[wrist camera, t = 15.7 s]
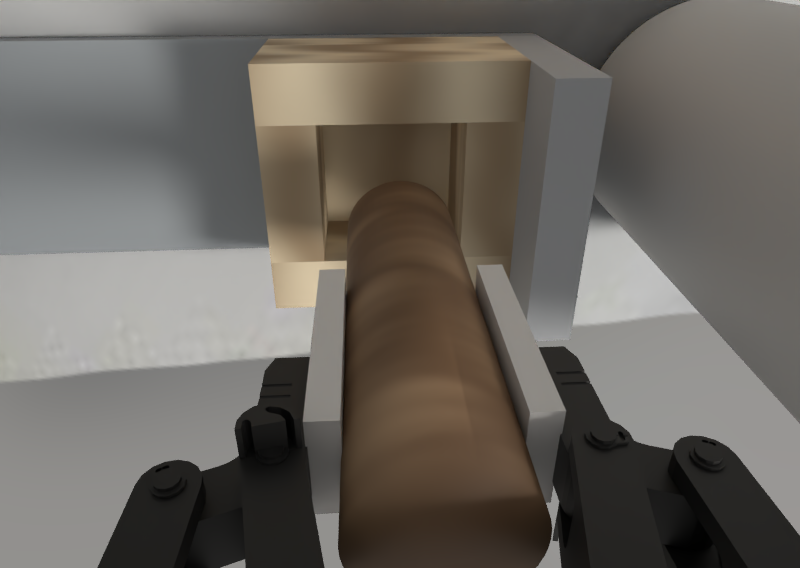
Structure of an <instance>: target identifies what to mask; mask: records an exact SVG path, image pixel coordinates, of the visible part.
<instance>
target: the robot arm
mask: <svg viewBox="0 0 800 568" xmlns="http://www.w3.org/2000/svg"><path fill="white" fill-rule="evenodd" d="M475 291H476V294H477V297H478V300H479V303H480V306H481V309H482V312H483V315H484V318H485V321H486V324H487V327H488V330H489V333H490V337H491V340H492V343H493V346H494V349H495V352H496V355H497V358H498V361H499V364H500V367H501V370H502V373H503V376H504V379H505V382H506V385H507V388H508V391H509V394H510V397H511V400H512V403H513V406H514V409H515V412H516V415H517V418H518V421H519V424H520V427H521V430H522V433H523V436H524V439H525V442H526V445H527V448H528V451H529V454H530V457H531V460H532V463H533V466H534V469H535V472H536V475H537V478H538V481H539V484H540V487H541V490H542V493H543V496H544V499H545V502H546V503H547V502H551V497H552V491H553V485H554V488H555V491H556V493H557V496H558V499H559V507H558V512H557V518H556V523H555V529H554V535H553V541H558V536H559V546H560V556H561V567H562V568H800V535H799V534H798V533H797V532H796V530H795V529H794V528H793V526H792V525H791V524H790V523H789V522H788V520H787V519H786V518H785V516H784V515H783V514H782V512H781V511H780V510H779V509H778V508H777V506H776V505H775V504H774V502H773V501H772V500H771V499H770V497H769V496H768V495H767V493H766V492H765V491H764V489H763V488H762V487H761V486H760V484H759V483H758V482H757V481H756V479H755V478H754V477H753V475H752V474H751V473H750V472H749V470H748V469H747V468H746V466H745V465H744V464H743V463H742V461H741V460H740V459H739V458H738V456H737V455H736V454H735V453H734V452H733V451H732V450H730V448H728V447H727V446H725V445H723V444H722V443H720V442H718V441H716V440H713V439H710V438H707V437H703V436H687V437H684V438H681V439H680V440H678V441H677V442H676V443H675V445H674V448H673V450H669V449H664V448H659V447H654V446H648V445H645V444H641V443H638V442H636V441H634V440H633V439H632V437H631V435H630V433H629V432H628V431H627V430H625V429H624V428H623V427H622V426H621V425H619V424H617V423H614V422H613V421H611V420H610V419H609V417H608V415H607V413H606V412H605V410H604V408H603V406H602V404H601V402H600V400H599V398H598V396H597V394H596V392H595V390H594V388H593V387H592V385H591V384H590V381H589V379H588V377H587V375H586V374H585V373H584V369H583V367H582V365H581V363H580V362H579V360H578V358H577V357H576V356H575V355H574V354H572V353H571V352H570V351H569V350H568V349H566V348H565V347H538V345H537V343H536V341H535V339H534V336H533V334H532V332H531V329H530V327H529V325H528V323H527V320H526V318H525V316H524V313H523V311H522V309H521V307H520V304H519V302H518V300H517V297H516V295H515V293H514V291H513V288H512V286H511V284H510V282H509V279H508V277H507V275H506V272H505V270H504V268H503V266H502V264H500V265H477V272H476V287H475ZM345 331H346V276H345V269H328V270H319V278H318V287H317V296H316V306H315V315H314V324H313V333H312V342H311V351H310V357H297V358H275V360H274V361H273V362H272V363H271V364H270V366H269V367H268V368H267V369H266V370H265V374H264V378H263V383H262V388H261V392H260V399H259V402H258V405H257V406H254V407H252V408H250V409H249V410H247V411H246V412H244V413H243V414H242V415H241V416H240V417H239V419H238V420H237V422H236V425H235V435H236V441H237V447H238V452H239V456H238V457H237V458H235V459H234V460H232V461H230V462H229V463H226V464H224V465H221V466H219V467H215V468H212V469H208V470H205V471H200V470H199V468H198V467H197V466H196V465H194V464H193V463H191V462H188V461H182V460H174V461H168V462H164V463H161V464H159V465H157V466H154V467H152V468H151V469H149V470H148V471H147V472H146V473H144V474H143V475H142V476H141V477H140V479H139V480H138V482H137V483H136V484H135V486H134V489H133V491H132V493H131V495H130V497H129V499H128V502H127V504H126V506H125V508H124V510H123V513H122V515H121V517H120V519H119V521H118V524H117V526H116V528H115V530H114V532H113V535H112V537H111V539H110V541H109V544H108V546H107V548H106V550H105V552H104V554H103V557H102V559H101V561H100V564H99V565H98V568H220V567H223V566H226V565H229V564H232V563H235V562H237V561H240V560H243V559H245V562H246V568H324V563H323V558H322V552H321V546H320V541H319V535H318V530H317V525H316V518H315V514H323V513H324V514H325V513H339V502H340V469H341V456H342V440H343V403H344V367H345Z"/></svg>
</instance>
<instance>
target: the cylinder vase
mask: <svg viewBox="0 0 800 568" xmlns="http://www.w3.org/2000/svg"><path fill="white" fill-rule="evenodd" d="M600 71H602V72H603V73H605V74H607V75H609V76H610V77H612V78H613V79H612V85H611V91H610V97H609V103H608V110H607V116H606V122H605V128H604V134H603V140H602V146H601V152H600V159H599V165H598V171H597V177H596V183H595V189H594V196H595V197H596V199H597V200H598V201H599V202H600V204H601V205H602V206H603V207H604V208H605V209H606V210H607V211H608V212H609V214H610V215H611V216H612V217H613V218H614V219H615V220H616V221H617V222H618V223H619V225H620V226H621V227H622V228H623V229H624V230H625V231H626V232H627V233H628V234H629V236H630V237H631V238H632V239H633V240H634V241H635V242H636V243H637V244H638V246H639V247H640V248H641V249H642V250H643V251H644V252H645V253H646V254H647V255H648V257H649V258H650V259H651V260H652V261H653V262H654V263H655V264H656V265H657V266H658V268H659V269H660V270H661V271H662V272H663V273H664V274H665V275H666V276H667V277H668V279H669V280H670V281H671V282H672V283H673V284H674V285H675V286H676V287H677V289H678V290H679V291H680V292H681V293H682V294H683V295H684V296H685V297H686V298H687V300H688V301H689V302H690V303H691V304H692V305H693V306H694V307H695V308H696V309H697V311H698V312H699V313H700V314H701V315H702V316H703V317H704V318H705V319H706V321H707V322H708V323H709V324H710V325H711V326H712V327H713V328H714V329H715V330H716V331H717V333H718V334H719V335H720V336H721V337H722V338H723V339H724V340H725V341H726V343H727V344H728V345H729V346H730V347H731V348H732V349H733V350H734V351H735V353H736V354H737V355H738V356H739V357H740V358H741V359H742V360H743V361H744V362H745V364H746V365H747V366H748V367H749V368H750V369H751V370H752V371H753V372H754V373H755V374H756V376H757V377H758V378H759V379H760V380H761V381H762V382H763V383H764V385H765V386H766V387H767V388H768V389H769V390H770V391H771V392H772V393H773V394H774V396H775V397H776V398H777V399H778V400H779V401H780V402H781V403H782V404H783V405H784V407H785V408H786V409H787V410H788V411H789V412H790V413H791V414H792V415H793V417H794V418H795V419H796V420H797V421H798V422H799V423H800V6H799V5H793V4H787V3H781V2H775V1H769V0H690V1H687V2H684V3H681V4H678V5H676V6H673V7H671V8H669V9H667V10H665V11H663V12H661V13H659V14H658V15H656V16H654V17H653V18H651V19H649V20H648V21H647V22H645V23H644V24H642V25H641V26H640V27H638V28H637V29H636V30H635V31H633V32H632V33H631V34H630V35H629V36H628V37H627V38H626V39H625V40H624V41H623V42H622V43H621V44H620V45H619V46H618V47H617V48H616V49H615V50H614V52H613V53H612V54H611V55H610V57H609V58H608V59H607V61H606V62H605V63H604V65H603V66H602V68H601V69H600Z"/></svg>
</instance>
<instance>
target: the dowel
mask: <svg viewBox="0 0 800 568" xmlns="http://www.w3.org/2000/svg"><path fill="white" fill-rule="evenodd" d="M551 534H552V524H551V518H550V515H549V512H548V508H547V505H546V502H545V499H544V496H543V493H542V490H541V487H540V484H539V481H538V478H537V475H536V472H535V469H534V466H533V463H532V460H531V457H530V454H529V451H528V448H527V445H526V442H525V439H524V436H523V433H522V430H521V427H520V424H519V421H518V418H517V415H516V412H515V409H514V406H513V403H512V400H511V397H510V394H509V391H508V388H507V385H506V382H505V379H504V376H503V373H502V370H501V367H500V364H499V361H498V358H497V355H496V352H495V349H494V346H493V343H492V340H491V337H490V333H489V330H488V327H487V324H486V321H485V318H484V315H483V312H482V309H481V306H480V303H479V300H478V297H477V294H476V291H475V288H474V285H473V282H472V279H471V276H470V273H469V270H468V267H467V264H466V261H465V258H464V255H463V252H462V249H461V246H460V243H459V240H458V237H457V234H456V231H455V228H454V225H453V222H452V219H451V216H450V213H449V210H448V208H447V206H446V205H445V203H444V202H443V200H442V199H441V198H440V197H439V196H438V195H437V194H436V193H435V192H434V191H432V190H431V189H429V188H428V187H426V186H423V185H421V184H418V183H415V182H410V181H393V182H388V183H384V184H381V185H379V186H377V187H375V188H373V189H371V190H370V191H368V192H367V193H366V194H364V195H363V196H362V197H361V198H360V199H359V200H358V202H357V203H356V205H355V206H354V208H353V210H352V212H351V214H350V217H349V221H348V235H347V268H346V331H345V367H344V403H343V440H342V456H341V469H340V502H339V539H338V550H339V557H340V560H341V562H342V565H343V567H344V568H536V567H537V566H538V565H539V563H540V562H541V560H542V558H543V557H544V556H545V554H546V551H547V549H548V547H549V544H550V540H551Z"/></svg>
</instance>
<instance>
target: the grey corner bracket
mask: <svg viewBox="0 0 800 568" xmlns="http://www.w3.org/2000/svg"><path fill="white" fill-rule="evenodd" d="M483 36H498V37H499V38H501V39H502V40H504V41H505V42H506V43H508V44H509V45H510V46H512V47H513V48H515V49H516V50H517V51H519V52H520V53H521V54H523V55H524V56H526V57H527V58H528V59H530V60H531V67H530V77H529V87H528V97H527V107H526V117H525V127H524V137H523V147H522V158H521V168H520V178H519V188H518V198H517V208H516V218H515V228H514V238H513V248H512V258H511V269H510V279H509V282H510V284H511V286H512V288H513V291H514V293H515V295H516V297H517V300H518V302H519V304H520V307H521V309H522V311H523V313H524V316H525V318H526V320H527V323H528V325H529V327H530V329H531V332H532V334H533V336H534V339H535V341H548V340H549V341H550V340H570V336H571V330H572V324H573V318H574V312H575V306H576V299H577V293H578V287H579V281H580V275H581V269H582V263H583V257H584V250H585V244H586V238H587V232H588V226H589V220H590V214H591V208H592V201H593V195H594V189H595V183H596V177H597V171H598V165H599V159H600V152H601V146H602V140H603V134H604V128H605V122H606V116H607V110H608V103H609V97H610V91H611V85H612V79H613V78H612V77H610V76H609V75H607V74H605V73H603V72H602V71H600V70H598V69H596V68H594V67H593V66H591V65H589V64H587V63H586V62H584V61H582V60H580V59H579V58H577V57H575V56H573V55H571V54H570V53H568V52H566V51H564V50H563V49H561V48H559V47H557V46H556V45H554V44H552V43H550V42H548V41H547V40H545V39H543V38H541V37H540V36H538V35H536V34H534V33H470V34H368V35H266V36H163V37H61V38H0V255H21V254H56V253H91V252H126V251H161V250H196V249H231V248H266V247H269V241H268V232H267V223H266V215H265V206H264V198H263V189H262V180H261V172H260V163H259V155H258V146H257V137H256V129H255V120H254V112H253V103H252V94H251V86H250V77H249V69H248V63H249V62H250V61H251V60H252V58H253V57H254V56H255V55H256V53H257V52H258V51H259V50H260V48H261V47H262V46H263V45H264V43H265V42H266V41H267V40H268V39H284V38H384V37H483Z"/></svg>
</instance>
